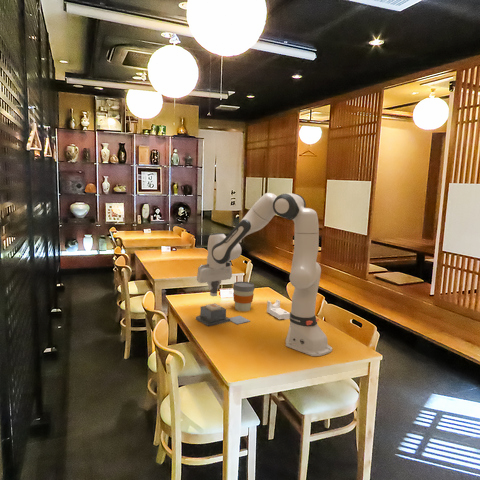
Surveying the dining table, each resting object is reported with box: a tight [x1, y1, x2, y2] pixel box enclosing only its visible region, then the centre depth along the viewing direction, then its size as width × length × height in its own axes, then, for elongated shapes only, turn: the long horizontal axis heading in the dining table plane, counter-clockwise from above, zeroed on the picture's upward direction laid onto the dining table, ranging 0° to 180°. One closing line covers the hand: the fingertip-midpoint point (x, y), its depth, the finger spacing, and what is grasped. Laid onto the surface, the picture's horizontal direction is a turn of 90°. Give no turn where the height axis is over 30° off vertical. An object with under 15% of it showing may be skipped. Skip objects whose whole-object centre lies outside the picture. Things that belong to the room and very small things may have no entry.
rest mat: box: [228, 315, 251, 326], centre depth 208 cm, size 9×9×1 cm
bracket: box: [266, 299, 290, 321], centre depth 218 cm, size 13×7×8 cm, turn 28°
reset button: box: [205, 302, 222, 311], centre depth 205 cm, size 6×6×5 cm
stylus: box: [209, 281, 218, 297], centre depth 203 cm, size 3×3×8 cm
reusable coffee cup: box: [232, 281, 255, 312], centre depth 226 cm, size 12×13×15 cm
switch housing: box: [195, 305, 231, 328], centre depth 205 cm, size 12×14×7 cm
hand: (213, 288), depth 203 cm, fingers closed on stylus, 3 cm apart
